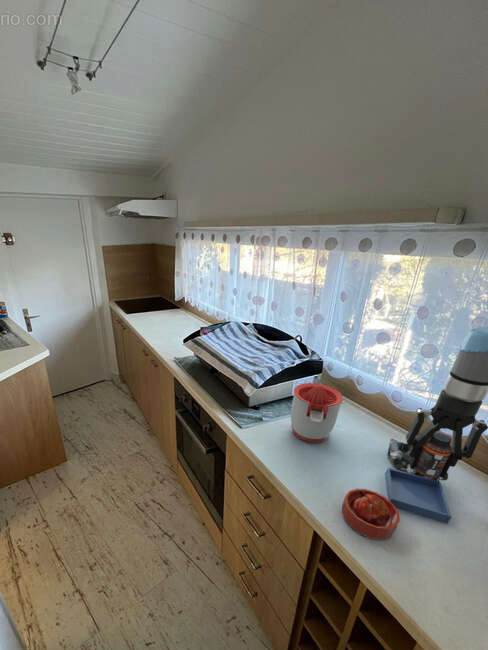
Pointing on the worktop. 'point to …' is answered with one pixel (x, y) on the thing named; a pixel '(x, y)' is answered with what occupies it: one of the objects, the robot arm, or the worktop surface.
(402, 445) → the foil
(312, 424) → the citrus juicer
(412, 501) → the blue tray
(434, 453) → the supplement bottle
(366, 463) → the worktop surface
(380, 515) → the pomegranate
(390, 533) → the red bowl
